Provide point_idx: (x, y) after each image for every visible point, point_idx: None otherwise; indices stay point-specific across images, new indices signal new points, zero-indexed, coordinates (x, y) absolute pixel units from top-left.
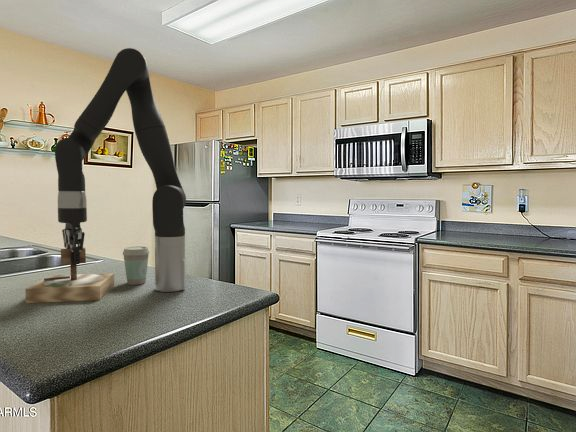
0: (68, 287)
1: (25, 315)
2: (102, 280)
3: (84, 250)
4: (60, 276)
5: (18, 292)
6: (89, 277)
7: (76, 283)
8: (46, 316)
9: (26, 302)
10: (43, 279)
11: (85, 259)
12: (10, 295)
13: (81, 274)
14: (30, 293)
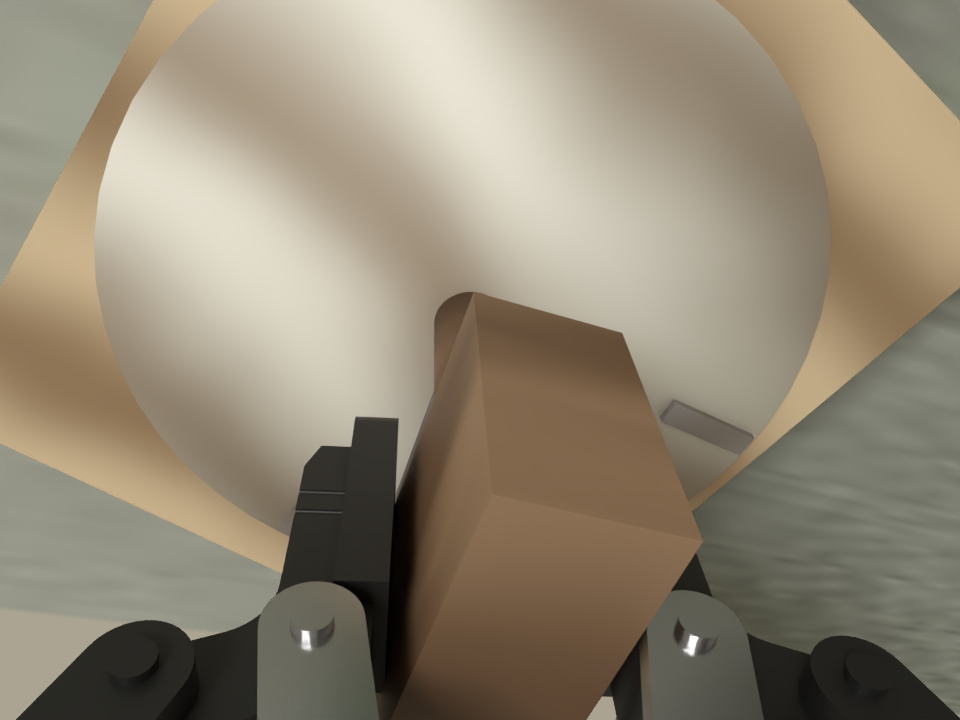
0: (760, 452)
1: (795, 623)
2: (798, 48)
3: (675, 519)
4: (136, 369)
5: (61, 547)
6: (484, 123)
7: (698, 364)
8: (939, 560)
9: None
10: (166, 513)
11: (632, 371)
12: (143, 597)
13: (165, 125)
14: None
